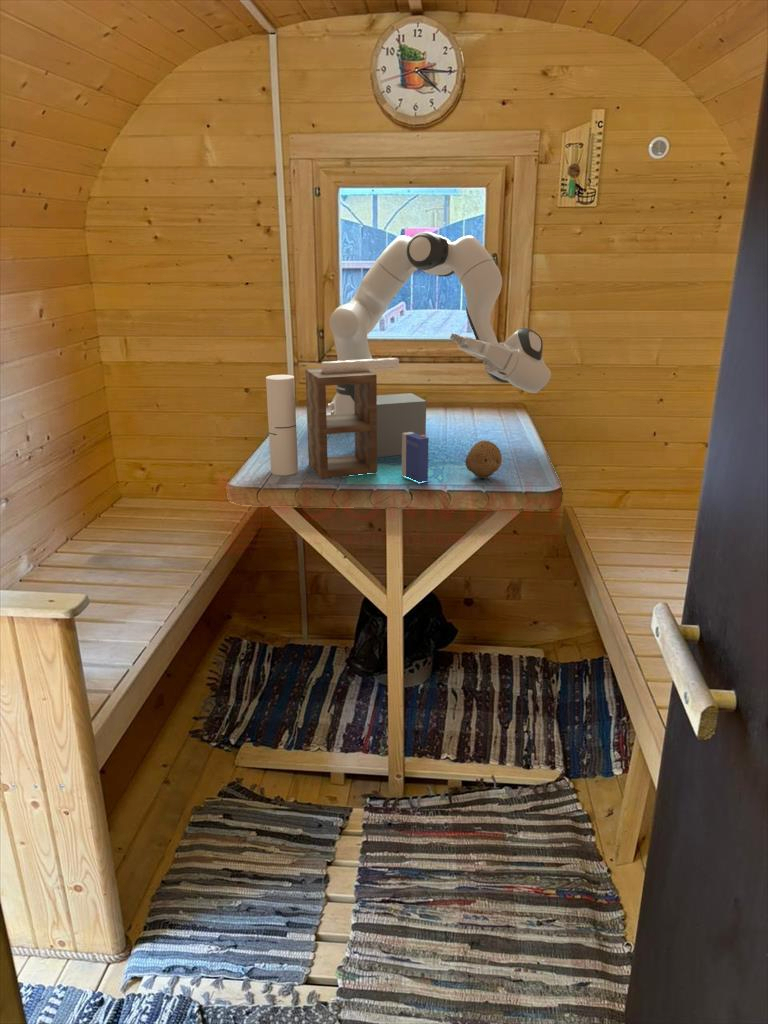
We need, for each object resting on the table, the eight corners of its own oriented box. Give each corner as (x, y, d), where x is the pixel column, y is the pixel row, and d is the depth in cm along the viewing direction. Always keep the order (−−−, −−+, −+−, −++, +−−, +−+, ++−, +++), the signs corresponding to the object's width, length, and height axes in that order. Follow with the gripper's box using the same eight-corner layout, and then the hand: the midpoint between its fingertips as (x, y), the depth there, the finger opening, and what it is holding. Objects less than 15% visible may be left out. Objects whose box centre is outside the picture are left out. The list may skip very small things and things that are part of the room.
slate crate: (359, 447, 225) (359, 396, 219) (410, 442, 229) (411, 393, 224) (372, 457, 214) (371, 404, 209) (425, 452, 219) (426, 401, 213)
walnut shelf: (308, 464, 207) (305, 368, 198) (361, 459, 212) (360, 365, 203) (321, 479, 195) (318, 378, 186) (376, 473, 199) (376, 374, 190)
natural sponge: (504, 484, 191) (506, 445, 188) (469, 484, 191) (470, 446, 187) (496, 473, 200) (498, 436, 196) (463, 474, 199) (464, 437, 196)
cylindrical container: (293, 475, 198) (289, 380, 189) (267, 474, 199) (262, 379, 190) (301, 468, 204) (297, 375, 196) (275, 466, 206) (270, 374, 197)
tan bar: (321, 371, 194) (321, 361, 193) (395, 367, 200) (395, 357, 199) (324, 373, 192) (324, 363, 191) (398, 369, 198) (399, 359, 197)
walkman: (427, 482, 192) (428, 436, 188) (419, 484, 191) (419, 438, 187) (410, 475, 198) (410, 430, 194) (401, 476, 197) (401, 431, 193)
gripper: (488, 344, 216) (448, 323, 211) (522, 353, 198) (480, 330, 192) (478, 364, 217) (438, 344, 212) (511, 375, 199) (469, 353, 193)
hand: (458, 337), depth 202 cm, fingers open, 8 cm apart
